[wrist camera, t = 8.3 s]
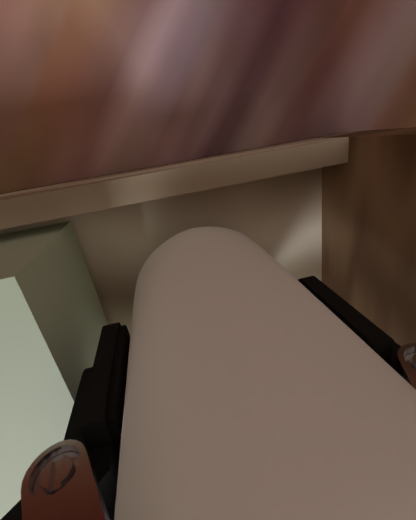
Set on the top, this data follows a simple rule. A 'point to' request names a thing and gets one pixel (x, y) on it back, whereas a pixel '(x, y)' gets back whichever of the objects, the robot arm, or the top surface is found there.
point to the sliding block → (41, 344)
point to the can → (255, 397)
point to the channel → (256, 217)
